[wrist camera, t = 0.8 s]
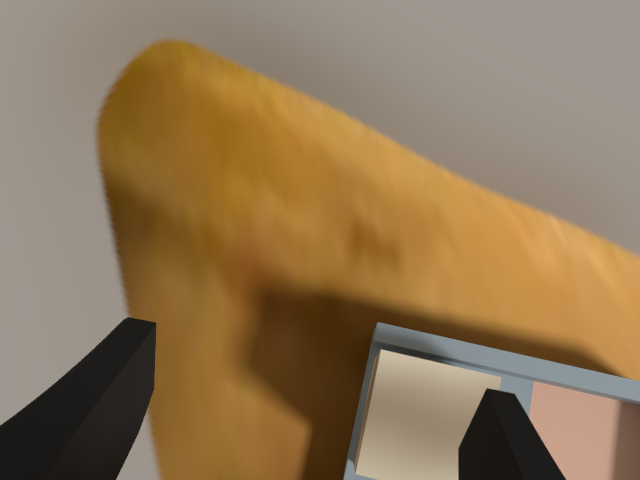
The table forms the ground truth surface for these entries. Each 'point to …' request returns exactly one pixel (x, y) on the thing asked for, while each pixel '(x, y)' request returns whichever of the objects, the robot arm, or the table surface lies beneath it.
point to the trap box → (536, 402)
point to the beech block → (417, 417)
